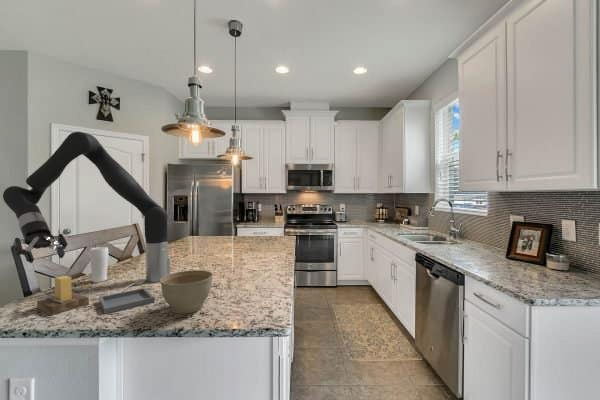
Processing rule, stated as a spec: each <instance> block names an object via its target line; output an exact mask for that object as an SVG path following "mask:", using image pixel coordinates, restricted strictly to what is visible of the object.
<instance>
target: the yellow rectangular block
mask: <svg viewBox="0 0 600 400" xmlns="http://www.w3.org/2000/svg"><path fill="white" fill-rule="evenodd" d="M72 287H73V286H72V276H68V275H61V276H57V277H54V297H55V299H57V300H60V301H62V302H63V301H67V300H70V299H72V292H73V291H72Z"/></svg>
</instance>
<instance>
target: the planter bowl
mask: <svg viewBox="0 0 600 400" xmlns="http://www.w3.org/2000/svg"><path fill="white" fill-rule="evenodd" d="M212 281H213V272H211V271H208V270H202V269H197V270H196V269H193V270H192V269H191V270H183V271H177V272H173V273H170V274H169V275H166V276H164V277H163V278H161V280H160V281H159V282H160V286H161V294H162V296H163V298H164V300H165V301H166V303H167V305H168V306H169V307H171V310H172V312H173V313H174V314H180V315H186V314H191V313H195V312H198V311H199V310H201V309H202V308H203V307H204V303H205V301H206V300H207V298H208V296H209V294H210V291H211V289H212V283H213V282H212Z"/></svg>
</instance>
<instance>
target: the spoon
mask: <svg viewBox="0 0 600 400" xmlns="http://www.w3.org/2000/svg"><path fill="white" fill-rule="evenodd" d="M144 283H146V279H144V278H142V279H138V280H137V281H135V282H133V283H130V284H129V285H128V286H126V287H124V288H122V289H120V290H119V291H117V292H115V293H114V294H116V293H121V292H125V291H126V289H128V288H130V287H131V286H133V285H134V286H139V285H143V284H144Z"/></svg>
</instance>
